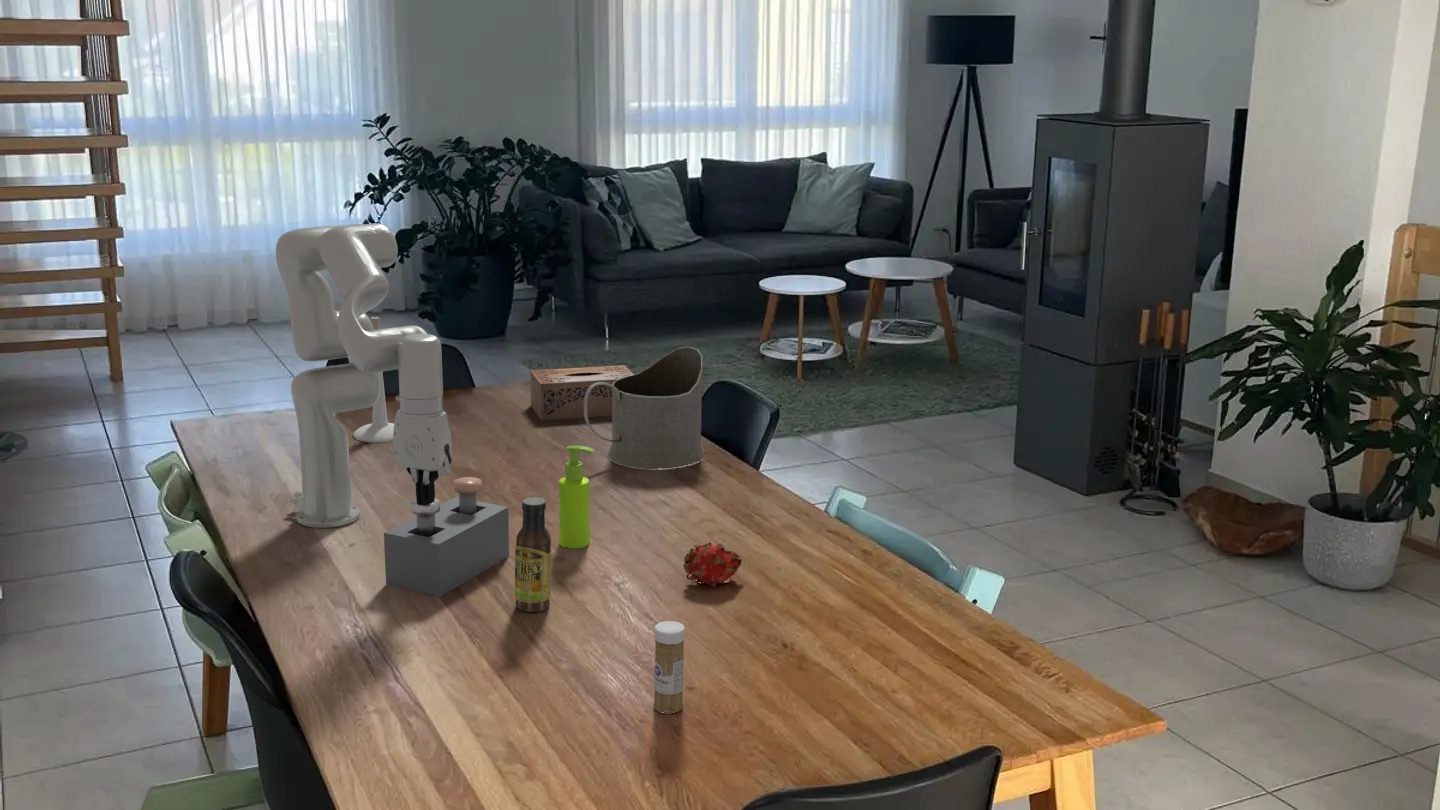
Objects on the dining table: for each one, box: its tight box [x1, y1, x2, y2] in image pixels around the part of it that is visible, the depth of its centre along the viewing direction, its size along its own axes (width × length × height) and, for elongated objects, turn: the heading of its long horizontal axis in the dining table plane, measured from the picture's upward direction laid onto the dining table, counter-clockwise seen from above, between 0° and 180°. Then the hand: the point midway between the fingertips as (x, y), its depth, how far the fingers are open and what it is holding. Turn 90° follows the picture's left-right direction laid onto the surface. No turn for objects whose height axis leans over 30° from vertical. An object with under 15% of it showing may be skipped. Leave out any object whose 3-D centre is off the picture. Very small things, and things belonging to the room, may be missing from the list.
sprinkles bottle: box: [653, 620, 686, 713], centre depth 206 cm, size 5×5×13 cm
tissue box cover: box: [529, 364, 635, 421], centre depth 364 cm, size 26×14×10 cm, turn 108°
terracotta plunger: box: [452, 476, 483, 515], centre depth 260 cm, size 5×5×8 cm
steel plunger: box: [410, 498, 441, 537], centre depth 249 cm, size 5×5×8 cm
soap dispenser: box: [558, 445, 595, 549], centre depth 270 cm, size 6×7×20 cm
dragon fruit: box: [682, 542, 742, 588], centre depth 254 cm, size 8×8×12 cm
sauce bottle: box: [514, 496, 552, 613], centre depth 240 cm, size 6×6×20 cm
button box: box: [383, 496, 510, 597], centre depth 256 cm, size 12×22×10 cm, turn 155°
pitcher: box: [584, 346, 706, 469], centre depth 323 cm, size 23×32×25 cm
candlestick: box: [353, 316, 394, 444], centre depth 335 cm, size 13×13×30 cm
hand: (425, 502), depth 248 cm, fingers closed
